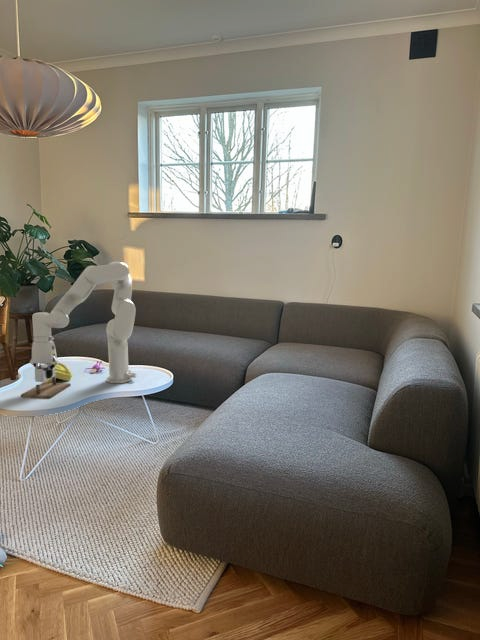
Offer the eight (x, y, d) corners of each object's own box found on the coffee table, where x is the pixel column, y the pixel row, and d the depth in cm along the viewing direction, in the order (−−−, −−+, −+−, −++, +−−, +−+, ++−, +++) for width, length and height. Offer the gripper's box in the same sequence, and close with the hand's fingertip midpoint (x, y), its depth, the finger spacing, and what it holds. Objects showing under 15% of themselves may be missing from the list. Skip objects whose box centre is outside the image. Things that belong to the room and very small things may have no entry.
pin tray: (70, 385, 208) (69, 375, 207) (50, 398, 190) (49, 387, 189) (43, 384, 209) (43, 374, 209) (21, 397, 192) (20, 386, 191)
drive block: (55, 375, 204) (54, 363, 203) (43, 381, 194) (42, 369, 193) (47, 375, 204) (46, 363, 203) (35, 381, 194) (34, 368, 193)
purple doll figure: (108, 359, 237) (101, 371, 226) (110, 364, 238) (102, 376, 227) (89, 360, 238) (81, 372, 227) (90, 365, 239) (82, 377, 228)
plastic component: (73, 376, 216) (53, 370, 210) (67, 390, 215) (46, 384, 209) (65, 364, 232) (46, 358, 226) (59, 376, 232) (40, 371, 226)
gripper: (64, 338, 198) (66, 376, 201) (30, 336, 200) (33, 374, 203) (55, 341, 191) (57, 380, 194) (20, 340, 193) (23, 379, 196)
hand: (45, 377), depth 199 cm, fingers closed on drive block, 4 cm apart
